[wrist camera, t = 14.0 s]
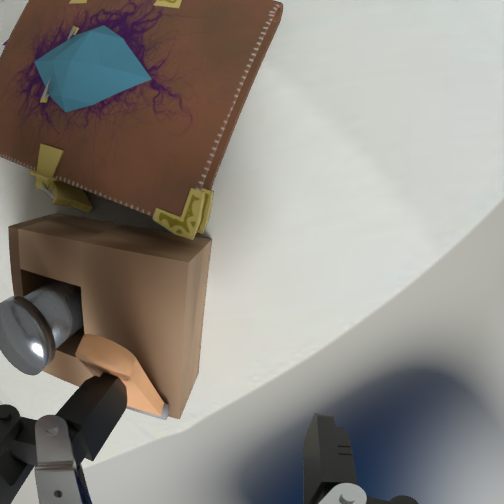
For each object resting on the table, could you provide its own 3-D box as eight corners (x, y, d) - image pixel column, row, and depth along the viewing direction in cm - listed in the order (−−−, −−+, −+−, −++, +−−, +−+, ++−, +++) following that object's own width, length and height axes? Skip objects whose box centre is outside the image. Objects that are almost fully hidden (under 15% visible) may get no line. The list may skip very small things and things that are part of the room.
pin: (71, 305, 21) (-1, 359, 13) (69, 253, 20) (-15, 295, 12) (116, 318, 21) (49, 385, 13) (116, 264, 20) (35, 316, 12)
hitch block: (62, 333, 22) (27, 363, 17) (55, 213, 20) (8, 226, 15) (198, 373, 22) (179, 419, 17) (211, 239, 19) (188, 262, 14)
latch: (127, 393, 17) (123, 408, 16) (71, 324, 10) (61, 346, 10) (170, 406, 17) (166, 421, 16) (134, 343, 10) (125, 368, 10)
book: (33, 0, 16) (3, -19, 11) (290, 22, 16) (294, -19, 11) (-28, 158, 20) (-65, 158, 15) (199, 254, 20) (175, 275, 15)
